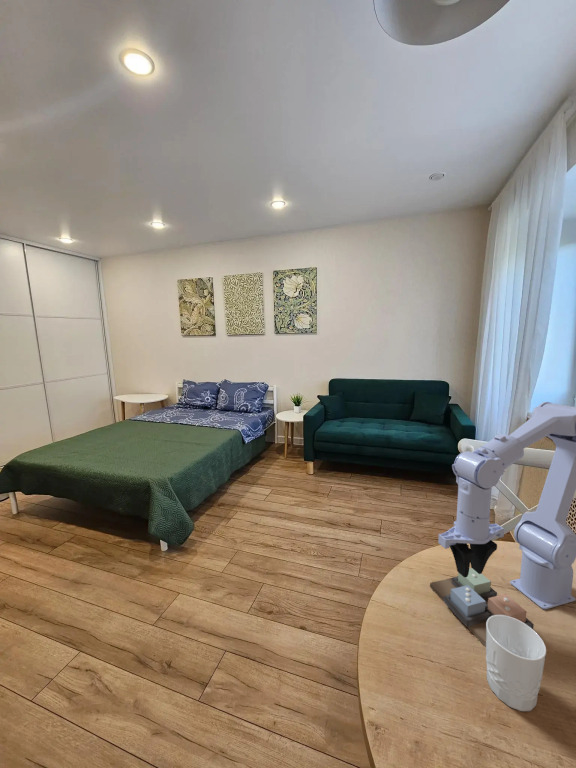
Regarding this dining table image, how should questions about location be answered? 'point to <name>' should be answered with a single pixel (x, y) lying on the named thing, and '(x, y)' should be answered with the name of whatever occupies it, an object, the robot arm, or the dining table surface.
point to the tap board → (472, 622)
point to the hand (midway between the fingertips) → (469, 572)
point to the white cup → (514, 661)
